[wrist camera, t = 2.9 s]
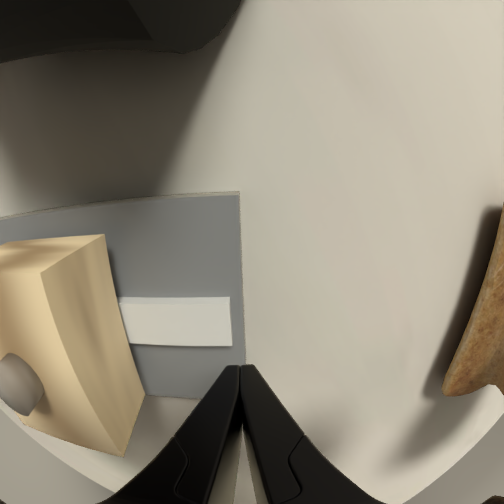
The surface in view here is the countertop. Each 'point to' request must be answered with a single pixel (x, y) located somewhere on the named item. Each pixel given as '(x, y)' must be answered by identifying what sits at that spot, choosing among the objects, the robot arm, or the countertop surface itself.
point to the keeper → (66, 343)
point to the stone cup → (482, 333)
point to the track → (164, 280)
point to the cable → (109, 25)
